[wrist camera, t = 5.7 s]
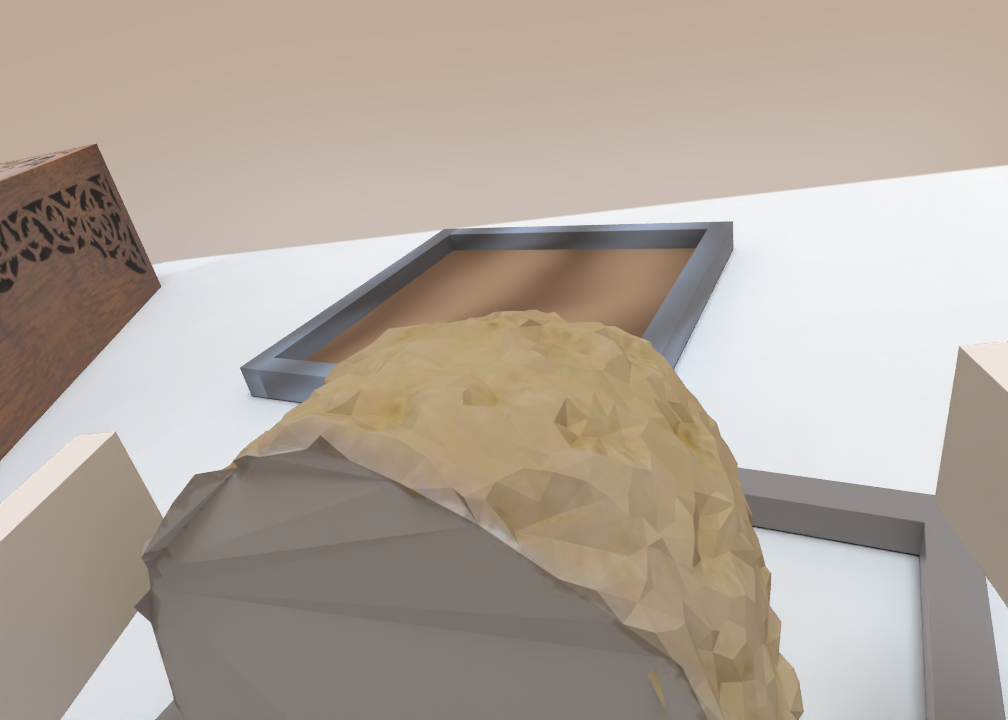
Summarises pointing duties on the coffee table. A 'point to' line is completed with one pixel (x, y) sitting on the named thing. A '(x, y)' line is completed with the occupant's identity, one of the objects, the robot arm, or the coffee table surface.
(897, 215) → the coffee table surface
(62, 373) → the tissue box cover
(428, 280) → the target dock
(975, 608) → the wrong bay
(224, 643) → the coral
